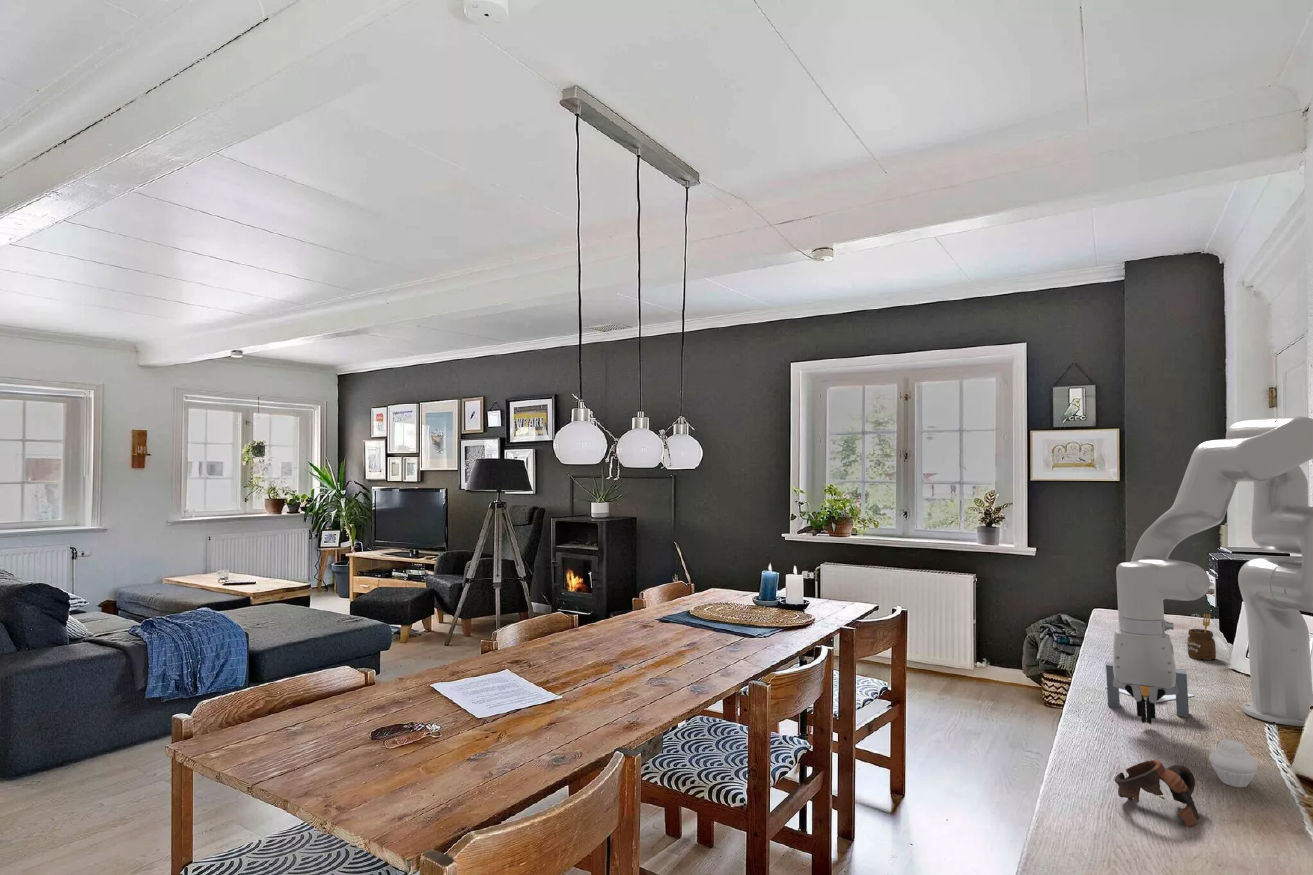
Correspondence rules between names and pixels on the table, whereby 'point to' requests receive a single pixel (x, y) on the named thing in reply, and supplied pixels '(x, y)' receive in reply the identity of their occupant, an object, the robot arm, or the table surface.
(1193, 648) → the utensil holder
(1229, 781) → the muffin
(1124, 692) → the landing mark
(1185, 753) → the table surface
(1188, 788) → the broken clay pot
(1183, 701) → the bridge
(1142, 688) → the ball
